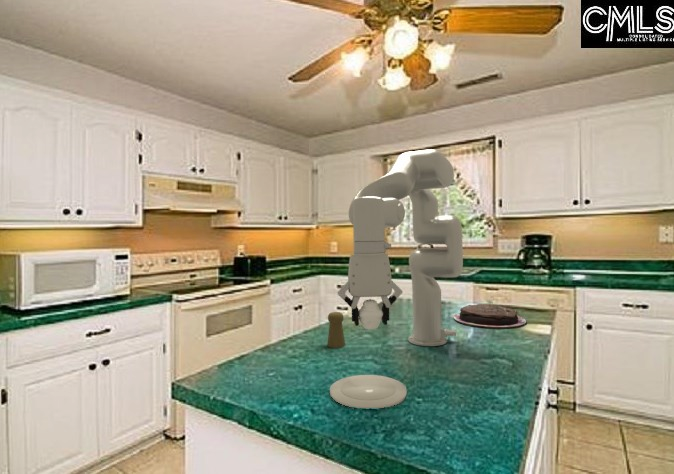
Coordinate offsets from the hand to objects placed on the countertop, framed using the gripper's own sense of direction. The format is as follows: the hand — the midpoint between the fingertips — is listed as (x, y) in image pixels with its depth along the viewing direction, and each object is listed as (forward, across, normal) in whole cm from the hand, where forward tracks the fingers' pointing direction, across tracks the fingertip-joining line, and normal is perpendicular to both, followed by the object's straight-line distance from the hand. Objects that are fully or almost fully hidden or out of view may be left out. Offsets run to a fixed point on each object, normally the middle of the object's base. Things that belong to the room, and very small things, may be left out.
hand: (370, 323), depth 97 cm
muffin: (+1, 0, 0) cm, 1 cm away
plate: (+16, +1, +1) cm, 16 cm away
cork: (+16, +6, -39) cm, 43 cm away
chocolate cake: (+16, -58, -65) cm, 89 cm away
